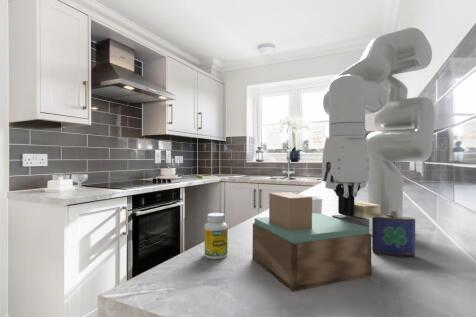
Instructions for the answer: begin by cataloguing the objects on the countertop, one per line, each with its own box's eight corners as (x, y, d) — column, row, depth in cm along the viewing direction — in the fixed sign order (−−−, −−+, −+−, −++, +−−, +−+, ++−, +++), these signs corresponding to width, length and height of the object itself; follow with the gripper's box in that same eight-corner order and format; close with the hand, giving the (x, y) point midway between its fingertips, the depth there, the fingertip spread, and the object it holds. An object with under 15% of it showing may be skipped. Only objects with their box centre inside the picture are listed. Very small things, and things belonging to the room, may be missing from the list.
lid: (317, 217, 67) (318, 188, 67) (369, 233, 53) (369, 197, 53) (254, 223, 60) (254, 191, 60) (293, 243, 46) (293, 201, 46)
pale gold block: (359, 211, 66) (359, 201, 66) (380, 216, 60) (380, 205, 60) (343, 213, 64) (343, 202, 64) (363, 218, 58) (363, 206, 58)
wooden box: (333, 247, 69) (334, 210, 69) (389, 271, 54) (389, 224, 54) (252, 259, 61) (252, 216, 61) (292, 291, 46) (292, 235, 46)
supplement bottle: (220, 250, 66) (220, 211, 66) (231, 257, 62) (232, 215, 62) (200, 254, 63) (200, 213, 63) (211, 261, 59) (211, 217, 59)
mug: (300, 224, 93) (300, 194, 93) (325, 228, 88) (326, 197, 88) (286, 231, 85) (286, 198, 85) (313, 236, 79) (314, 201, 79)
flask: (413, 254, 65) (413, 209, 65) (417, 258, 62) (418, 211, 62) (371, 250, 67) (371, 207, 67) (373, 254, 64) (373, 209, 64)
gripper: (358, 135, 67) (358, 209, 67) (308, 132, 61) (308, 213, 61) (385, 132, 60) (385, 215, 60) (331, 129, 54) (331, 220, 54)
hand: (346, 214), depth 60 cm, fingers closed
